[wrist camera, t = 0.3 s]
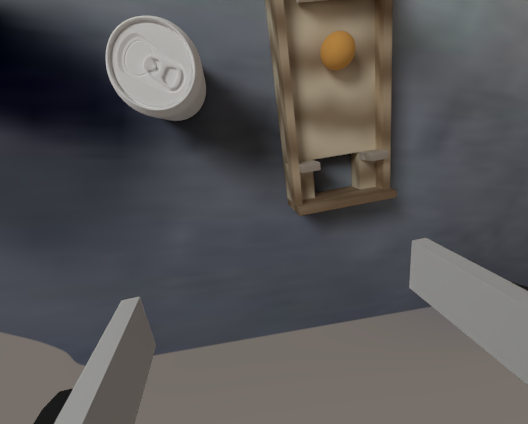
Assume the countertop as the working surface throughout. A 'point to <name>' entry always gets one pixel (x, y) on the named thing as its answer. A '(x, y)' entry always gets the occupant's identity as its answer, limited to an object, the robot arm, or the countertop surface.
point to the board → (333, 98)
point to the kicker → (300, 0)
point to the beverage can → (156, 68)
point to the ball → (337, 50)
